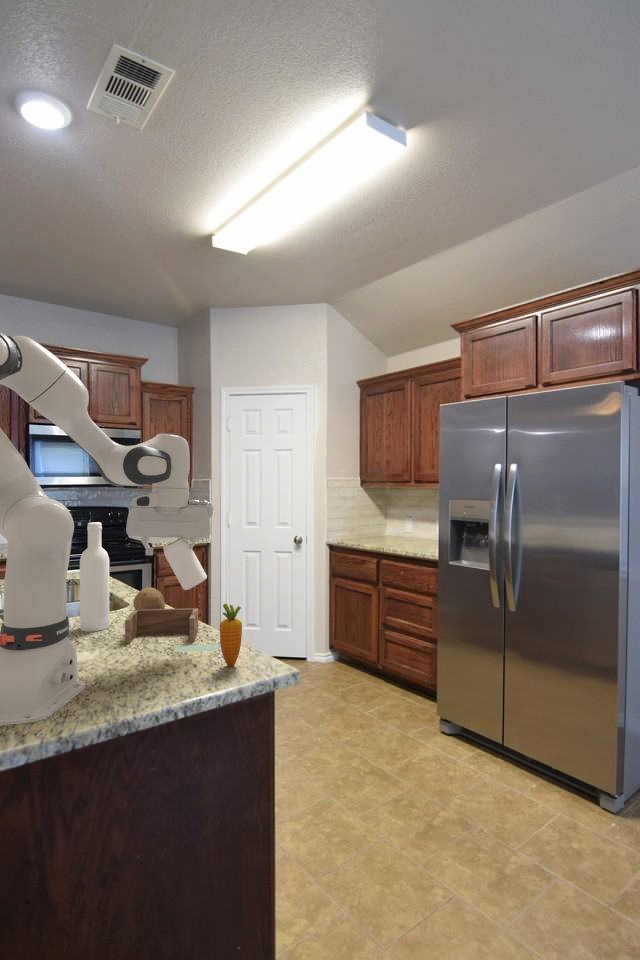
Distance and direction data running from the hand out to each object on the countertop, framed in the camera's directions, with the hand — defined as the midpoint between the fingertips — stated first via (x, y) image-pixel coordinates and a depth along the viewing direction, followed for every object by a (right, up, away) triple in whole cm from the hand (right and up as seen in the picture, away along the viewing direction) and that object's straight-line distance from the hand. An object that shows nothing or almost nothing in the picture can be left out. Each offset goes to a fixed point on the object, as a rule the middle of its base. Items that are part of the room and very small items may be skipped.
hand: (168, 555), depth 132 cm
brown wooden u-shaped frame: (-5, -24, +11) cm, 27 cm away
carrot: (+17, -25, -11) cm, 32 cm away
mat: (+7, -24, -1) cm, 25 cm away
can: (+7, -8, +1) cm, 10 cm away
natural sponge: (-14, -24, +27) cm, 39 cm away
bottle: (-27, -24, +20) cm, 41 cm away
